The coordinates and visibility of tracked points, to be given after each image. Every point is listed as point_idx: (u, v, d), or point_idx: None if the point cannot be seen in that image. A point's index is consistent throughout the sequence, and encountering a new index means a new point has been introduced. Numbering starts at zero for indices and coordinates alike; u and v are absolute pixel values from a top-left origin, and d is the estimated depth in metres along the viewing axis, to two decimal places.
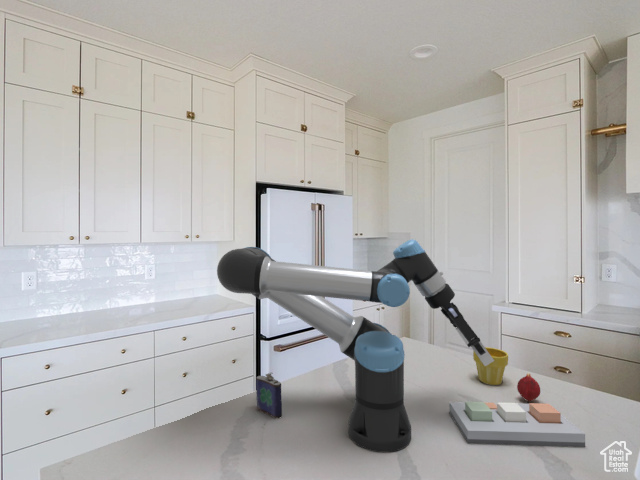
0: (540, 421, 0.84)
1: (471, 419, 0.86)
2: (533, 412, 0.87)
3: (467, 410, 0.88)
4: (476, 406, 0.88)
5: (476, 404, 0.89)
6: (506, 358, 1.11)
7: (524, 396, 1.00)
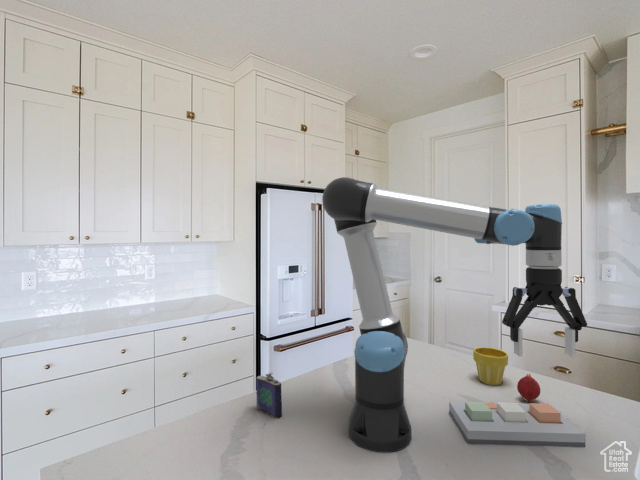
0: (540, 421, 0.84)
1: (471, 419, 0.86)
2: (533, 412, 0.87)
3: (467, 410, 0.88)
4: (476, 406, 0.88)
5: (476, 404, 0.89)
6: (506, 358, 1.11)
7: (524, 396, 1.00)
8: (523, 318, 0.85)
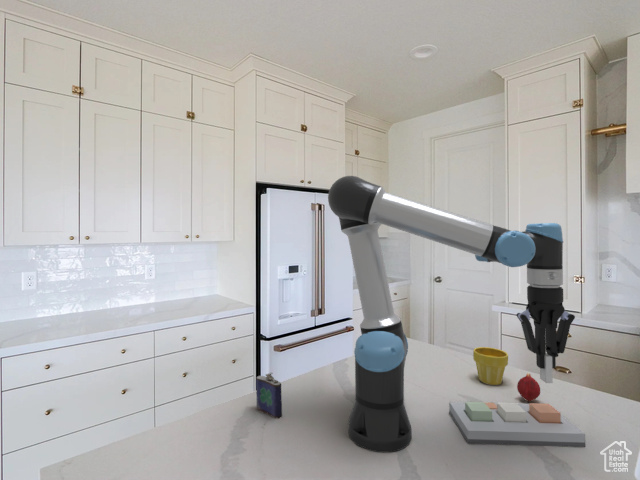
0: (540, 421, 0.84)
1: (471, 419, 0.86)
2: (533, 412, 0.87)
3: (467, 410, 0.88)
4: (476, 406, 0.88)
5: (476, 404, 0.89)
6: (506, 358, 1.11)
7: (524, 396, 1.00)
8: (543, 342, 0.85)
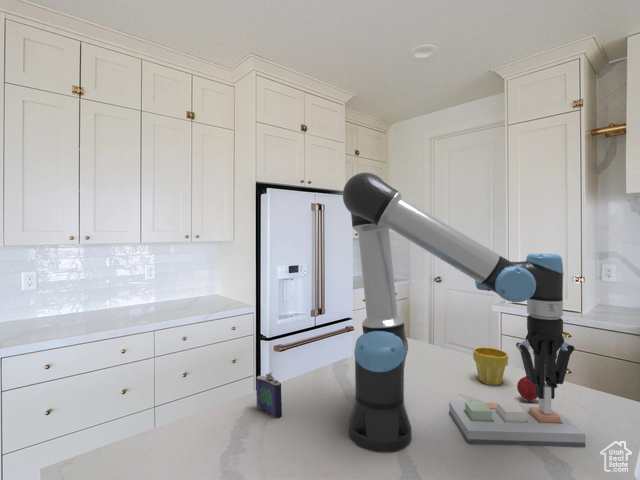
0: None
1: (471, 419, 0.86)
2: (533, 416, 0.87)
3: (467, 410, 0.88)
4: (476, 406, 0.88)
5: (476, 404, 0.89)
6: (506, 358, 1.11)
7: (524, 396, 1.00)
8: (542, 373, 0.85)
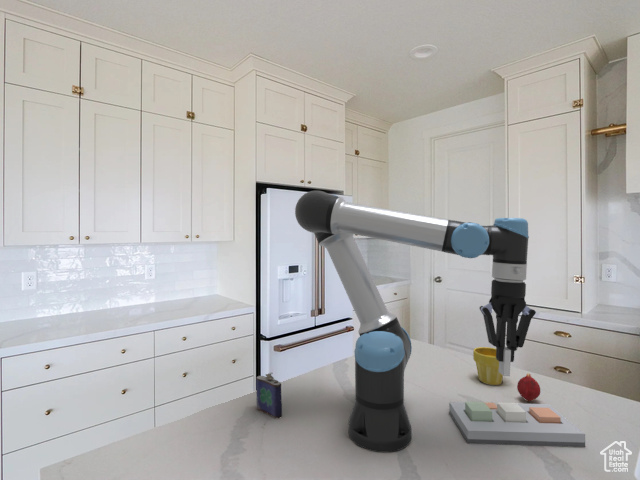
0: None
1: (471, 419, 0.86)
2: (533, 416, 0.87)
3: (467, 410, 0.88)
4: (476, 406, 0.88)
5: (476, 404, 0.89)
6: None
7: (524, 396, 1.00)
8: (503, 336, 0.86)
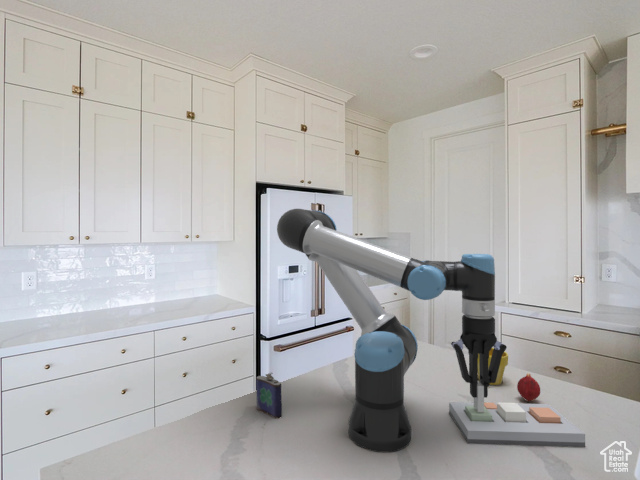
0: None
1: None
2: (533, 416, 0.87)
3: (467, 414, 0.88)
4: (476, 410, 0.88)
5: None
6: (506, 358, 1.11)
7: (524, 396, 1.00)
8: (475, 372, 0.86)
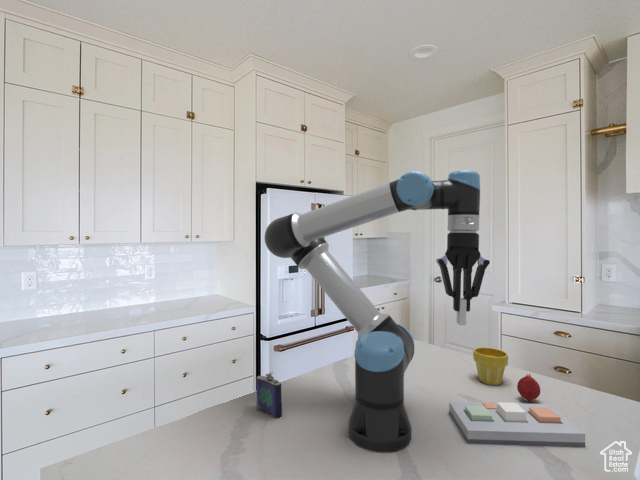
0: None
1: None
2: (533, 416, 0.87)
3: (467, 414, 0.88)
4: (476, 410, 0.88)
5: (476, 408, 0.89)
6: (506, 358, 1.11)
7: (524, 396, 1.00)
8: (458, 286, 0.89)
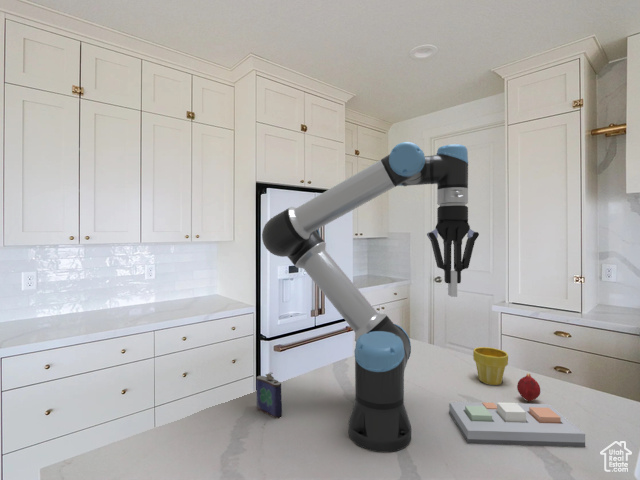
0: None
1: None
2: (533, 416, 0.87)
3: (467, 414, 0.88)
4: (476, 410, 0.88)
5: (476, 408, 0.89)
6: (506, 358, 1.11)
7: (524, 396, 1.00)
8: (449, 258, 0.90)
